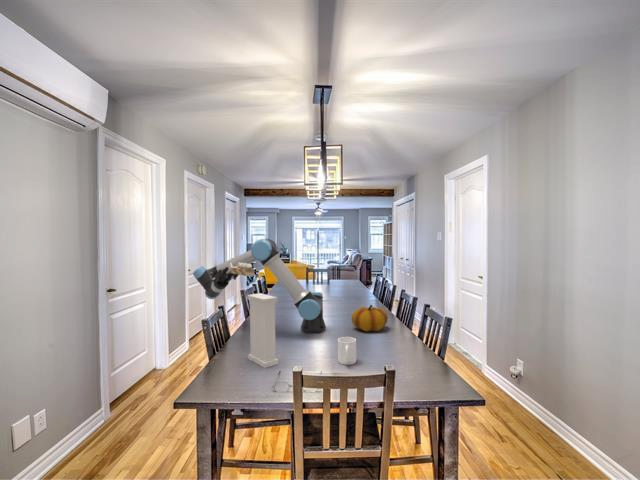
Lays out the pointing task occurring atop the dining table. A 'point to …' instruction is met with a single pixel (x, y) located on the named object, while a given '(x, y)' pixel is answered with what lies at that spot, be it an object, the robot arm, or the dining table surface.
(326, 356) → the dining table surface
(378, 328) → the decorative pumpkin
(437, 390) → the dining table surface
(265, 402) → the dining table surface
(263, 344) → the pedestal
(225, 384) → the dining table surface
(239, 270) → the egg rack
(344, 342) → the cup
